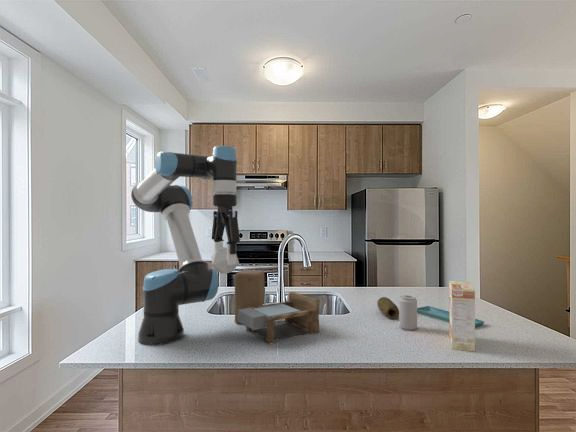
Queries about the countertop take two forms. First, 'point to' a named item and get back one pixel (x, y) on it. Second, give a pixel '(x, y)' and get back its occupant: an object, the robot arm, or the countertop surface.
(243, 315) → the gray rectangular slab
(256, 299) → the wooden block
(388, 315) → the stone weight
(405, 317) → the beverage can
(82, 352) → the countertop surface
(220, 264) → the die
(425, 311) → the teal serving tray
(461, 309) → the coffeecake box
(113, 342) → the countertop surface
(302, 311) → the frame
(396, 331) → the countertop surface
